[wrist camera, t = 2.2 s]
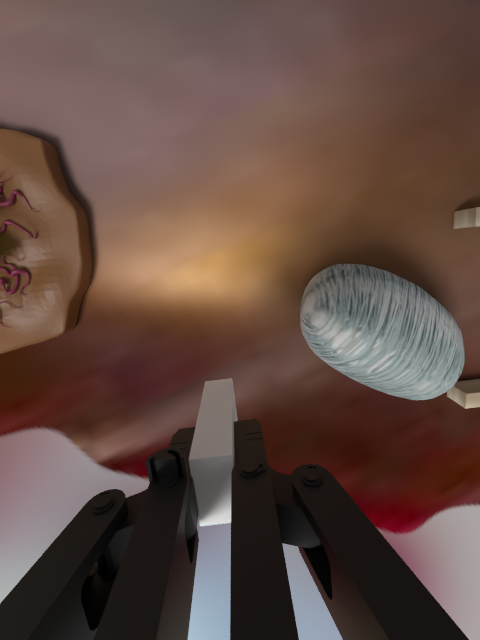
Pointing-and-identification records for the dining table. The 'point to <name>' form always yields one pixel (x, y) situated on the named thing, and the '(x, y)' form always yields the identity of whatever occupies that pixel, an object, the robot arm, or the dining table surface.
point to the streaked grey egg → (382, 331)
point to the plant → (38, 244)
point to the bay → (476, 389)
